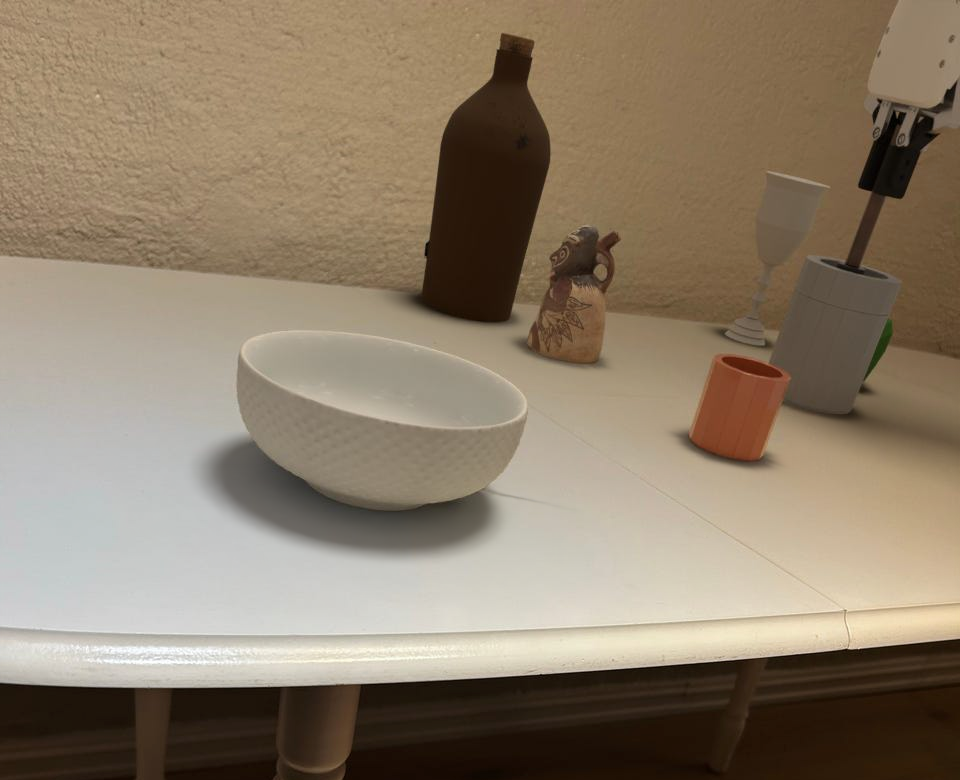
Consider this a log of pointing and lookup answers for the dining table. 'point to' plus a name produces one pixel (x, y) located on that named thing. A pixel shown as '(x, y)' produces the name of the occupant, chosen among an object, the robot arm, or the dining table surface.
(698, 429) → the holder
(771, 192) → the chalice
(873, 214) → the brush
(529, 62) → the olive oil
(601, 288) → the figurine
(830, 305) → the gray cylindrical pot
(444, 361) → the cereal bowl
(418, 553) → the dining table surface
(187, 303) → the dining table surface
